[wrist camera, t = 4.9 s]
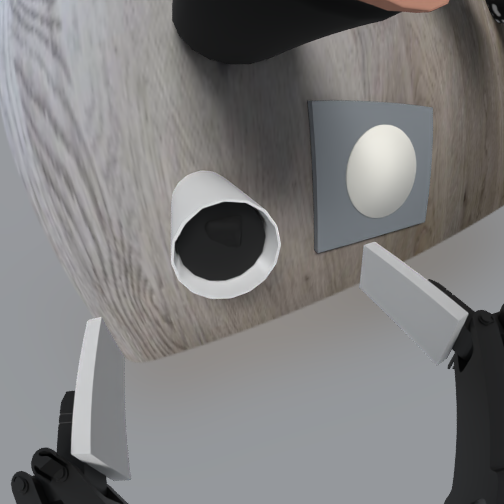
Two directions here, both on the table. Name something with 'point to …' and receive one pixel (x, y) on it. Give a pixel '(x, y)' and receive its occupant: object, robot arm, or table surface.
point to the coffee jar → (276, 23)
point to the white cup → (220, 237)
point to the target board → (368, 169)
